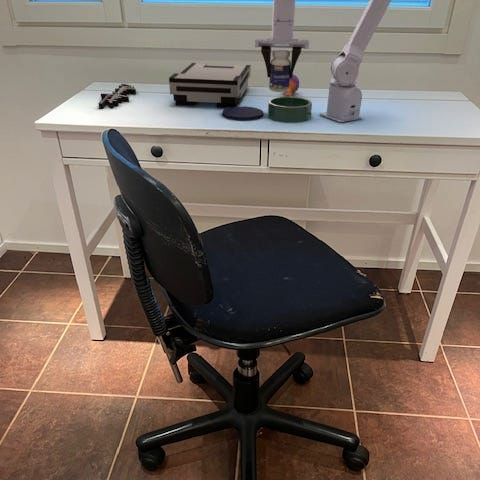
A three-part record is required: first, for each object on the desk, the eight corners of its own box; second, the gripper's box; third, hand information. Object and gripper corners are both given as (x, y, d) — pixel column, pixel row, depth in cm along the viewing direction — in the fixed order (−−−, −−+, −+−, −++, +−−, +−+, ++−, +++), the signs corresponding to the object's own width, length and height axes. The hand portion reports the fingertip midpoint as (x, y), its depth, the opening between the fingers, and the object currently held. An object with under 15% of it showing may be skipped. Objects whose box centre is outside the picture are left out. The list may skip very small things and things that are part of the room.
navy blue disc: (272, 117, 142) (272, 113, 141) (235, 123, 137) (235, 119, 136) (249, 107, 150) (249, 104, 150) (214, 112, 145) (214, 109, 145)
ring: (318, 118, 141) (320, 103, 139) (283, 124, 136) (284, 109, 133) (293, 108, 149) (294, 94, 147) (259, 114, 144) (260, 99, 142)
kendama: (276, 92, 150) (281, 73, 164) (279, 111, 153) (283, 91, 168) (295, 89, 148) (298, 70, 163) (297, 109, 152) (300, 89, 167)
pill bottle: (272, 93, 136) (274, 52, 130) (266, 88, 140) (267, 49, 134) (292, 91, 137) (294, 52, 131) (285, 87, 141) (287, 48, 135)
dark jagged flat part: (111, 83, 168) (139, 83, 168) (111, 88, 169) (140, 88, 169) (90, 103, 146) (123, 103, 146) (91, 108, 147) (124, 109, 147)
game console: (250, 86, 173) (250, 61, 168) (237, 110, 148) (237, 80, 143) (193, 84, 175) (192, 58, 170) (171, 107, 150) (168, 77, 145)
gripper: (310, 19, 131) (306, 75, 139) (257, 18, 132) (255, 73, 140) (310, 22, 125) (305, 80, 133) (254, 21, 126) (253, 78, 135)
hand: (280, 77), depth 136 cm, fingers closed on pill bottle, 5 cm apart
